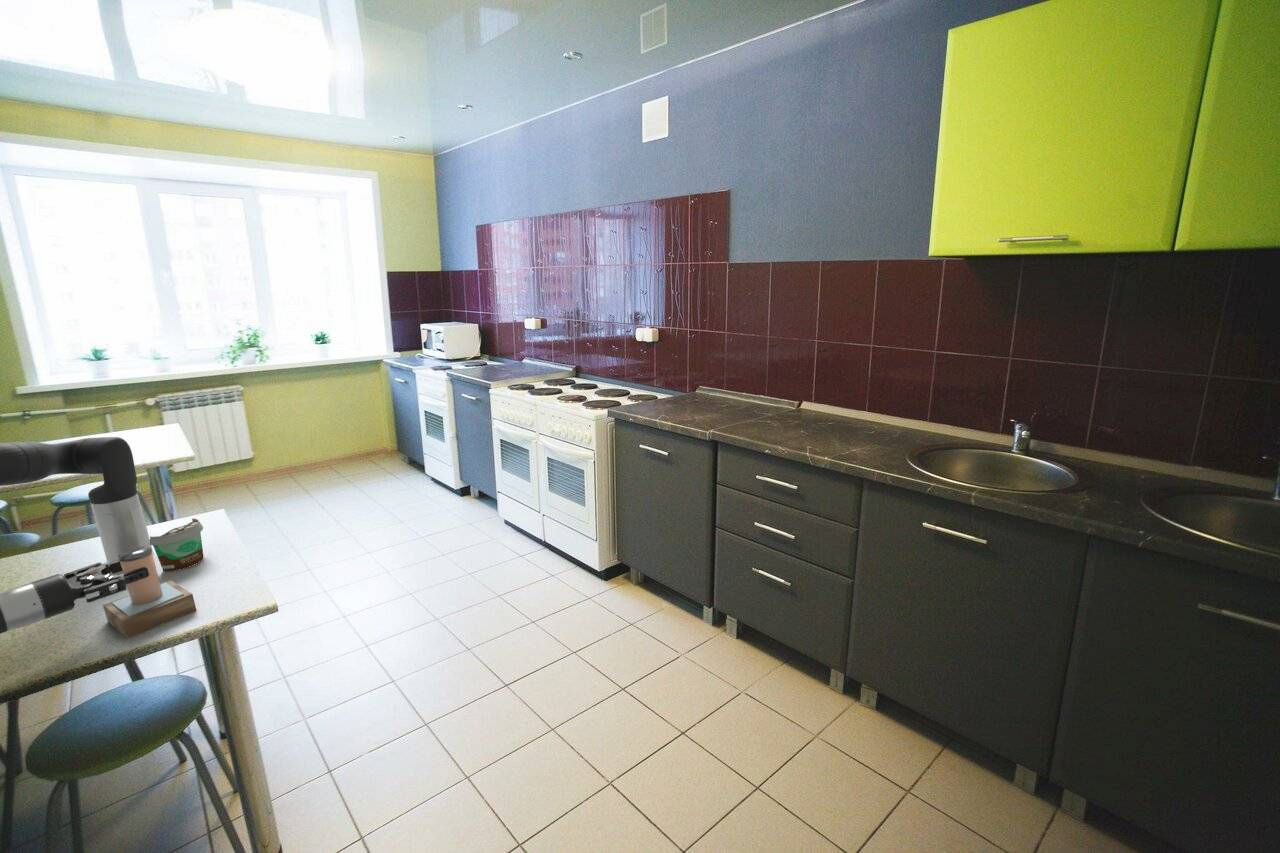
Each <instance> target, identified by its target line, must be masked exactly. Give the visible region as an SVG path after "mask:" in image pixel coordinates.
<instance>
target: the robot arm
mask: <svg viewBox="0 0 1280 853" xmlns="http://www.w3.org/2000/svg"><path fill="white" fill-rule="evenodd" d="M135 466H136V465H135V461H134V456H133V452H132V449H131V446H130V444H129V443H128V442H127V441H126V440H125V439H124V438H122V437H118V436H105V437H87V438H80V439H74V440H70V441H69V440H68V441H66V442H58V443H51V444H50V443H44V442H43V443H42V442H37V441H10V442H9V441H7V442H0V487H5V486H6V487H7V486H13V485H21V484H28V483H33V482H38V481H40V480H41V481H42V480H44V479H45V478H48V477H50V476H54V475H72V474H73V475H74V474H75V475H102V477H103V484H101V485H99V486H96V487H93V488H92V489H91V490H89V491H88V494H87V496H88V501H89V503H90V507H91V510H92V513H93V517H94V521H95V523H96V527H97V531H98V534H99V537H100V541H101V544H102V549H103V552H104V554H105V559H106V561H107V563H106V562H105V563H102V562H96V563H93V564H90V565H87V566H84V567H81V568H78V569H75V570H73V571H70V572H65V573H64V574H62V573H57V574H53V575H50V576H46V577H44V578H41V579H38V580H34V581H31V582H29V583H25V584H22V585H19V586H15V587H12V588H9V589H7V590H5V591H2V592H0V635H1V634H3V633H6V632H10V631H12V630H16V629H20V628H25V627H27V626H30V625H32V624H36V623H38V622H41V621H44V620H47V619H50V618H52V617H55V616H58V615H61V614H63V613H66V612H69V611H72V610H73V609H74V608H75V604H76V603H75V601H76V600H80V599H83V598H85V600H86V603H92V602H95V601H98V600H101V599H105V598H107V597H110V596H113V595H116V594H120V593H121V592H124V591H126V590H127V584H129V583H132V582H135V581H138V580H141V579H144V578H146V577H148V576H149V572H148V569H147V568H146V567H142V568H139V569H136V570H133V571H130V572H127V573H124V574H123V573H122V574H117V573H121V572H123V570H122V567H121V563H120V561H119V558H118V555H119V554H120V553H122V552H124V551H126V550H129V549H132V548H136V547H142V546H149V547H151V549H152V553H154V551H153V547H152V546H153V545H150V534H149V531H148V528H147V524H146V520H145V516H144V511H143V508H142V505H141V502H140V497H139V493H138V489H137V483H138V478H137V472H136V467H135ZM111 574H112V575H111ZM114 574H115V575H114Z"/></svg>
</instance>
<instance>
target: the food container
mask: <svg viewBox="0 0 1280 853" xmlns="http://www.w3.org/2000/svg"><path fill="white" fill-rule="evenodd" d="M203 529H204V526H203V524H202V522H201V521H199V519H197V518H191V522H189V523H186V524H184V525H182V526H178V527H174V528H172V529H169V531H167V532H165V533H163V534H161V535H158V536H149V538H150V545H151V546H153V547H152V548H153V549H154V551H155V554H156V556H157V559H158V562H159V564H160V566H161V569H162V572H175V571H174V570H176V571H180V570H179V569H181V570H184V569H187V567H188V568H190V567H189V566H191V567H192V565H193V566H195V565H197V564H199V563H200V562H199V561H201V560H202V559H203V560H204V558H203V557H204V550H203V542H202V541H203V540H202V534H201V532H202V531H203ZM203 560H202V561H203ZM202 561H201V562H202ZM198 562H199V563H198ZM196 563H197V564H196ZM194 564H195V565H194ZM183 568H184V569H183Z"/></svg>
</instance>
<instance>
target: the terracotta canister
mask: <svg viewBox="0 0 1280 853" xmlns="http://www.w3.org/2000/svg"><path fill="white" fill-rule="evenodd" d="M152 550H153V548H152V549H151V547H149V546H142V547H136V548H132V549H129V550H126V551H124V552H122V553H120V554H119V555H118V558H119V561H120V563H121V567H122V570H123V571H122V572H123V573H122V574H124V573H127V572H130V571H133V570H136V569H139V568H142V567H146V568H147V569H148V572H149V576H148V577H146V578H144V579H141V580H138V581H135V582H132V583H129V584H127V586H126V589H127V591H128V596H129V595H130V599H131V602H132V604H133V605H143V604H147V603H150V602H153V601H155V600H157V599H159V598H160V597H162V595H163V593H162V589H161V585H160V584H161V583H160V578H159V574H158V570H157V566H156V563H155V559H154V555H153V554H152Z"/></svg>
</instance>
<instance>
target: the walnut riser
mask: <svg viewBox="0 0 1280 853" xmlns="http://www.w3.org/2000/svg"><path fill="white" fill-rule="evenodd" d="M160 585H161V589H162V593H163V595H162V597H160V598H159V599H157V600H155V601H153V602H150V603H147V604H143V605H133V604H132V602H131V599H130V595H129V594H128V595H126V596H122V597H121V598H119V599H115V600H113V601H110V602H107V603H105V604H102V606H103V610H104V613H105V616H106V620H107V622H108V623H109V624H110V625H111V626H113V627H114V628H115V629H116V630H117V631H119V632H120V633H121V634H122V635H124V637H126V638H127V639H130V638H132V637H135V636H137V635H140V634H142V633H143V634H144V633H145V632H147V631H149V630H153V629H154V627H155V628H157V627H160V626H162V625H164V624H166V622H167V623H169V622H171V621H174V620H177V619H178V618H181V617H183V616H186V615H188V614H190V613H193V612H196V611H197V607H196V602H195V598H194V595H193V593H192V592H191V591H189V590H187V589H185V588H184V587H182V586H180V584H179V585H178V584H177V583H176V582H174V581H172V580H167V581H164V582H162V583H160ZM163 623H164V624H163ZM161 624H162V625H161ZM159 625H160V626H159ZM156 626H157V627H156Z"/></svg>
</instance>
